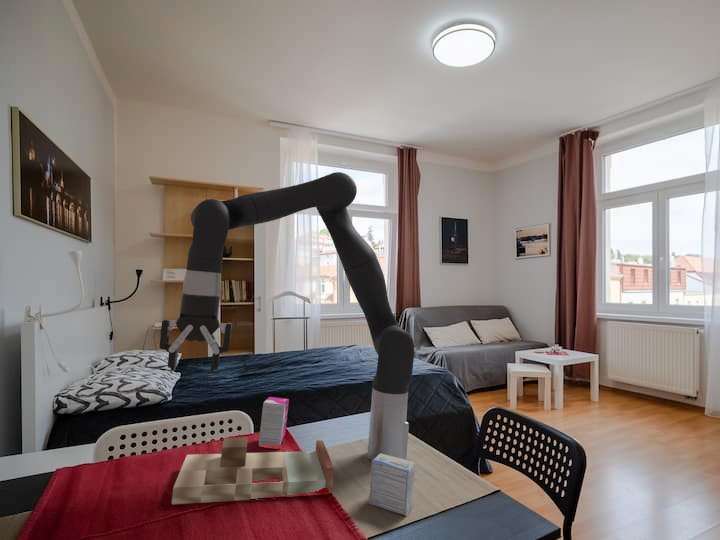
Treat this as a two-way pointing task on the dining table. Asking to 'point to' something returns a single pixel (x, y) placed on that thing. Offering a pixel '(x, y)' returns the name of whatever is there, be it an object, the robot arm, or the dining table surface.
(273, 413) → the supplement box
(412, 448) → the dining table surface
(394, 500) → the medicine box
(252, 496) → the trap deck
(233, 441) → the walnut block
